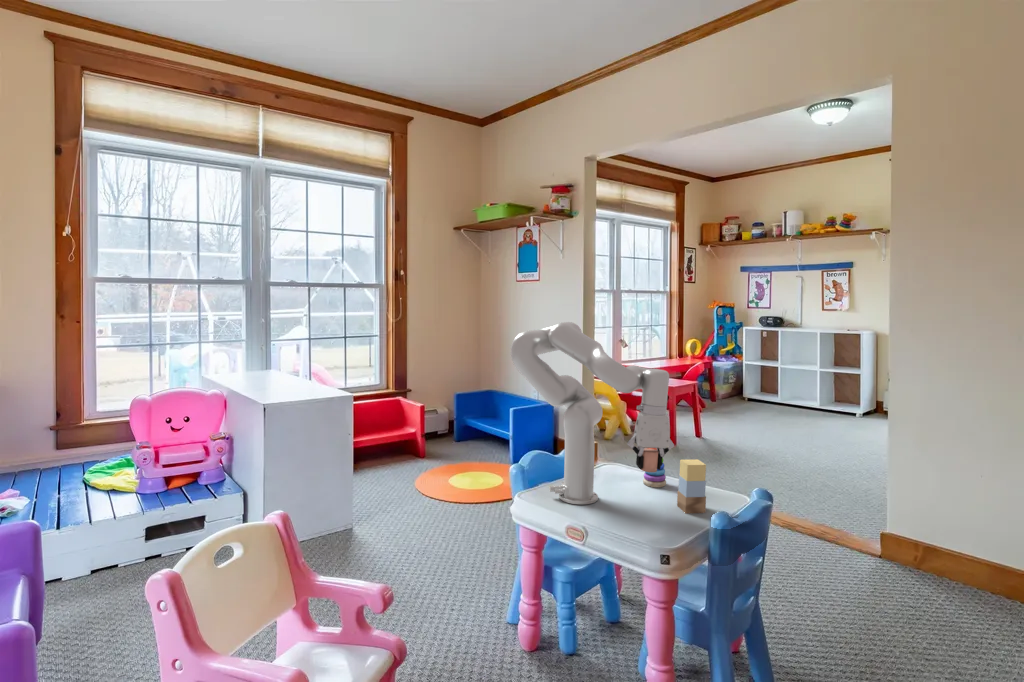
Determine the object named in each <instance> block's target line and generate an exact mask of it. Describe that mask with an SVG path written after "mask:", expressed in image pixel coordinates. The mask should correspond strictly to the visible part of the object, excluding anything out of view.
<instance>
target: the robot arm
mask: <svg viewBox="0 0 1024 682" xmlns="http://www.w3.org/2000/svg"><path fill="white" fill-rule="evenodd" d="M510 346H511V347H510V356H511V357H510V358H511V361H512V364H513V365H514V367H515V369H516V370H517V371H518V372H519V373H520V374H521V375H522V376H523V378H525V379H526V380H527V382H528V383H529V384H530V385H531V386H532V387H533V389H535V390H536V391H537V393H539V394H540V396H541V397H542V398H543V399H544V400H545V401H546V402H547V403H548V404H550V406H552V407H557V408H559V407H564V406H565V407H566V409H565V412H564V415H563V419H562V421H563V431H564V466H563V468H564V469H563V471H564V472H563V473H564V474H563V481H562V482H561V484H558V485H548V486H549V490H548V491H549V492H550V493H554V494H555V495H557V494H558V498H559V499H560V500H561V501H562V502H564V503H568V504H571V505H591V504H594V503H596V502H597V501H599V500H598V499H599V495H598V494H597V493H596V492H595V491H594V478H595V477H594V476H595V475H594V474H595V472H594V471H595V434H594V426H595V425H597V424H598V423H599V422H601V419H602V417H603V415H604V414H603V411H604V410H603V407H602V405H601V404H600V402H599V401H598V400H597V399H596V397H595V396H593V395H592V394H591V392H590V391H589V390H588V389H587V388H586V387H584V385H583V384H582V383H581V382H580V381H579V380H578V379H576V378H575V377H573V376H572V375H571V376H570V375H568V374H565V375H564V374H563V375H559V374H558V373H557V372H556V371H555V370H554V369H553V368H552V367H551V366H550V365H549V364H548V363H547V362H545V361H544V360H543V359H541V358H540V357H539V355H543V354H547V353H548V354H549V353H551V352H556V351H561V352H563V354H565V355H567V356H568V357H571V358H572V359H574V361H577V362H579V363H580V364H581V365H583V366H584V367H585V368H587V370H589V371H590V372H591V373H592V375H594V376H595V377H596V378H598V380H600V381H601V382H604V383H605V384H606V385H608V386H609V387H611V388H613V389H614V390H616V391H618V392H620V393H623V394H630V393H633V392H635V391H637V390H642V394H641V403H640V404H639V405H636V410H637V411H639V412H638V414H637V417H636V421H635V427H634V433H633V435H632V436H631V438H629V440H628V441H627V443H626V444H627V446H628V447H629V448H631V449H632V450H633V452H635V453H636V460H635V464H636V466H637V468H639V469H640V470H641V469H643V459H644V457H643V456H642V454H643V451H644V449H645V448H657V451H658V464H657V469H658V470H660V468H661V466H662V459H663V460H664V457H665V455H666V454H667V453H668V452H669V450H670V451H671V449H672V448H675V444H674V443H673V441H672V440H671V438H670V437H671V425H670V416H669V415H668V414H667V407H668V397H669V394H668V392H669V386H670V385H669V382H670V373H669V372H668V371H667V370H665V369H660V368H659V369H658V368H647V367H643V366H639V365H635V364H634V365H627V366H624V365H622V364H621V363H619V362H618V361H616V360H615V359H613V358H612V357H611V356H609V354H607V352H605V350H604V347H603V346H602V344H601V343H600V342H598V341H596V340H595V339H593V338H592V337H589V336H588V335H586V334H585V333H583V331H582V330H581V328H580V326H579V325H578V324H577V323H574V322H572V321H564V322H559V323H556V324H554V325H553V326H549V327H548V326H547V327H544V328H540V329H533V330H525V331H522V332H520V333H518V334H517V335H516V336H515V337H514V339H513V341H512V343H511V345H510ZM635 444H636V445H637V446H636V445H635Z"/></svg>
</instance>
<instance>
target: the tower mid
mask: <svg viewBox="0 0 1024 682" xmlns="http://www.w3.org/2000/svg"><path fill="white" fill-rule="evenodd" d="M706 483H707V481H706V480H705V481H686V480H685V479H684V478H682V477H681V476H680V474H679V475H678V491H679V492H681V493H682V494H683V495H684V496H685V497H706V486H707V485H706Z"/></svg>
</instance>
